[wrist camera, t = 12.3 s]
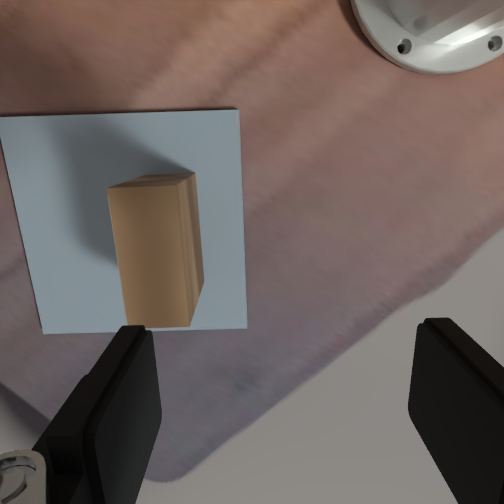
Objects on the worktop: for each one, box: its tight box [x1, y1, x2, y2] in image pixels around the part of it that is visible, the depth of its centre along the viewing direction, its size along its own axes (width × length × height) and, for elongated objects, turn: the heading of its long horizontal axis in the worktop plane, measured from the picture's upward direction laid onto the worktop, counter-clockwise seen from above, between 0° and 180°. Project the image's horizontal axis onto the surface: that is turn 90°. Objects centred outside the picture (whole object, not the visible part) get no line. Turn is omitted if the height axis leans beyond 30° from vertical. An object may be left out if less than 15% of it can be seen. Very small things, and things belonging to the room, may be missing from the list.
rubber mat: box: [0, 110, 247, 334], centre depth 27 cm, size 16×16×1 cm
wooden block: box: [107, 173, 204, 328], centre depth 23 cm, size 4×8×7 cm, turn 2°
